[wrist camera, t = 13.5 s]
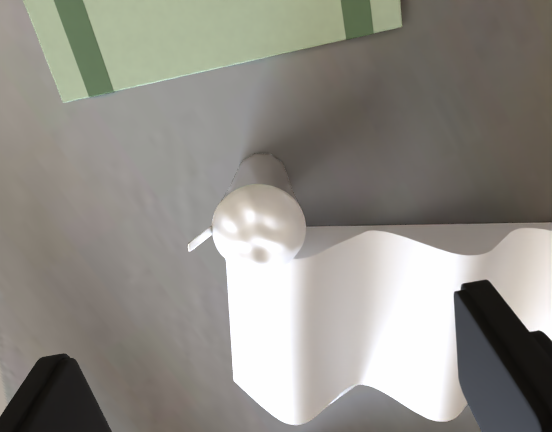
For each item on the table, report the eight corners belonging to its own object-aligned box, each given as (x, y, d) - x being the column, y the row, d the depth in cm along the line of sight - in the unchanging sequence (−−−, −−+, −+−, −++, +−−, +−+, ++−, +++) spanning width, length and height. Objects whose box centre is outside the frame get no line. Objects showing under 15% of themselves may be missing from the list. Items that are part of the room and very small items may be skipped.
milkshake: (212, 141, 29) (185, 199, 19) (298, 142, 29) (312, 201, 20) (214, 208, 30) (190, 291, 21) (295, 209, 30) (306, 293, 21)
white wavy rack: (224, 228, 31) (216, 266, 26) (740, 219, 31) (824, 255, 26) (233, 379, 36) (228, 434, 31) (676, 371, 36) (737, 423, 32)
